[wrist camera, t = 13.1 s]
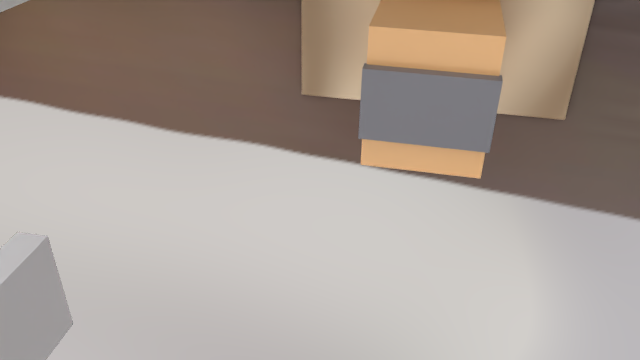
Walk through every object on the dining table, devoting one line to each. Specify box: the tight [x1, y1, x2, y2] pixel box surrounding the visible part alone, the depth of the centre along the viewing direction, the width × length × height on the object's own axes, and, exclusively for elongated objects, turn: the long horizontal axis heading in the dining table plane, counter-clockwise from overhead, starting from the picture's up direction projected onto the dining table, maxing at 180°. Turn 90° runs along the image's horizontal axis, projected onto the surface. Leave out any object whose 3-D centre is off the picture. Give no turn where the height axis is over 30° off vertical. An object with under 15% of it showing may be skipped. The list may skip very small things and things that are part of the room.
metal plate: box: [301, 0, 595, 120], centre depth 30 cm, size 14×7×1 cm, turn 90°
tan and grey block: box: [358, 0, 507, 178], centre depth 27 cm, size 5×6×8 cm
